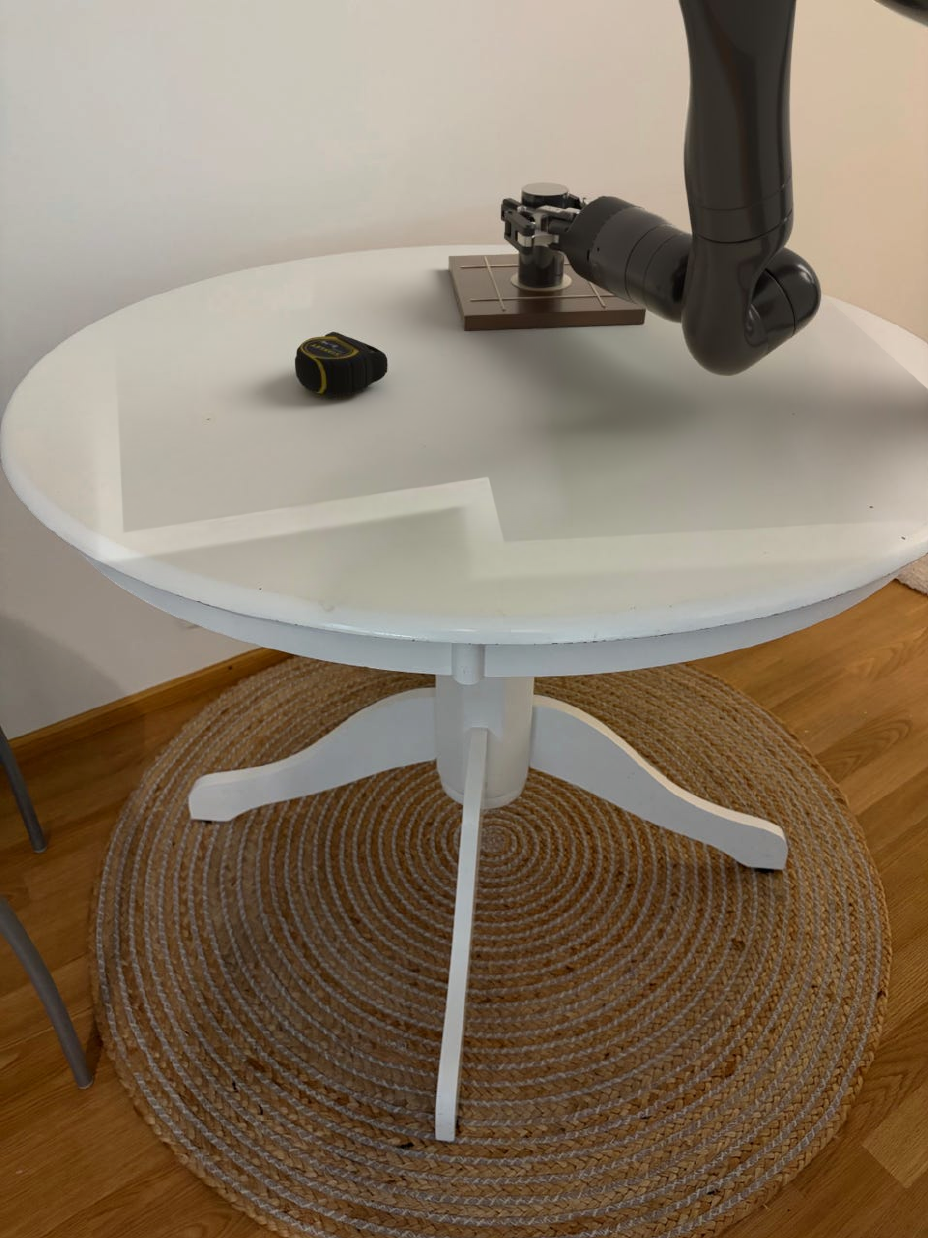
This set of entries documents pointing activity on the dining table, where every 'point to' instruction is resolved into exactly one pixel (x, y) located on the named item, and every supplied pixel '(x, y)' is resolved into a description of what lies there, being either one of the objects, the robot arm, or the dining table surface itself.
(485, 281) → the board
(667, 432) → the dining table surface
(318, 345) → the tape measure
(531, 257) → the canister
